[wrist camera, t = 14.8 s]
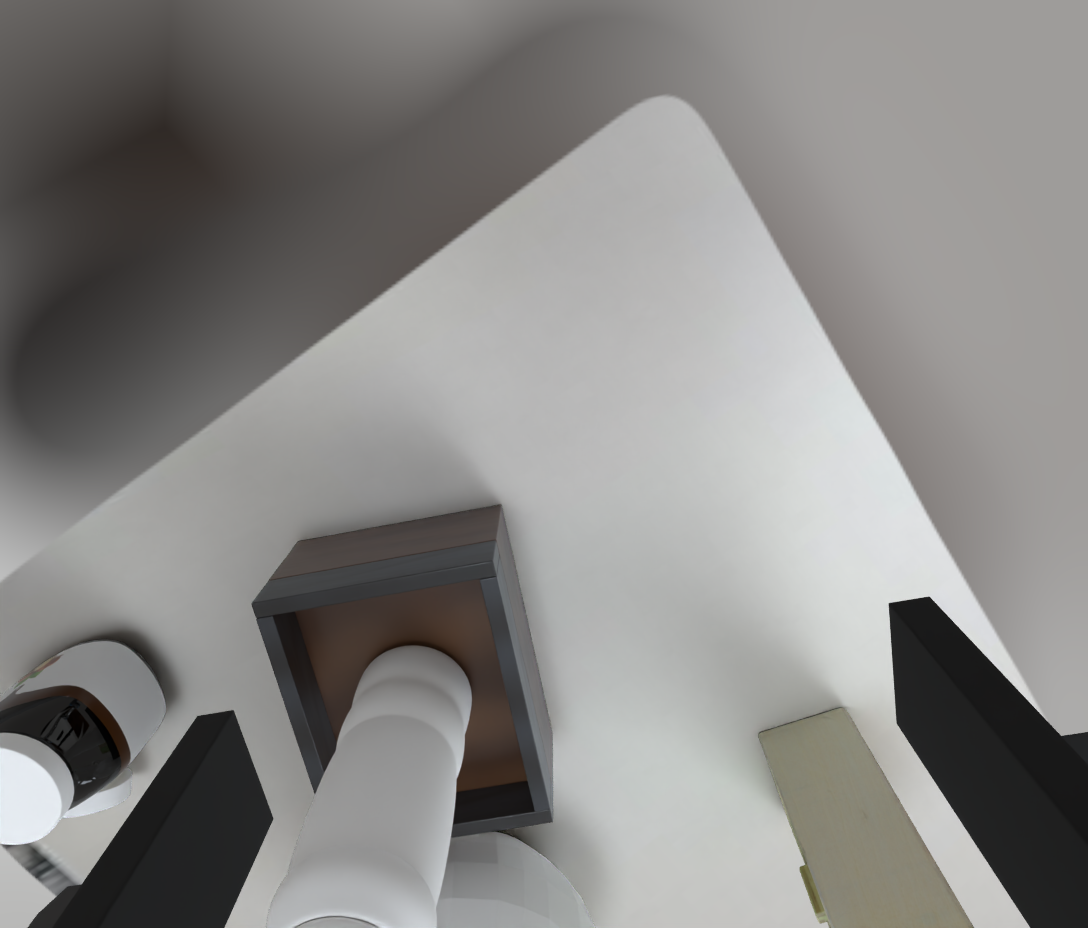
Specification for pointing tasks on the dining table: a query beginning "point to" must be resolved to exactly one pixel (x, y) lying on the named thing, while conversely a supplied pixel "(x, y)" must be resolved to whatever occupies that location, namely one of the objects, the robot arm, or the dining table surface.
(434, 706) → the water bottle
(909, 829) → the beige rectangular block
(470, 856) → the white vase
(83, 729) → the spread jar
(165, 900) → the robot arm
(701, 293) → the dining table surface
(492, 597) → the open rectangular box
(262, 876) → the dining table surface
